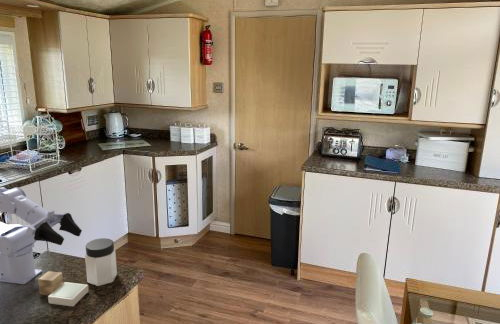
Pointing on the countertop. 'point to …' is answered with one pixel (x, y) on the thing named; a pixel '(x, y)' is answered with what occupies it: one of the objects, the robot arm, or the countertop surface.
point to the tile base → (68, 294)
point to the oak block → (50, 282)
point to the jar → (100, 261)
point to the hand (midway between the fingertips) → (71, 237)
